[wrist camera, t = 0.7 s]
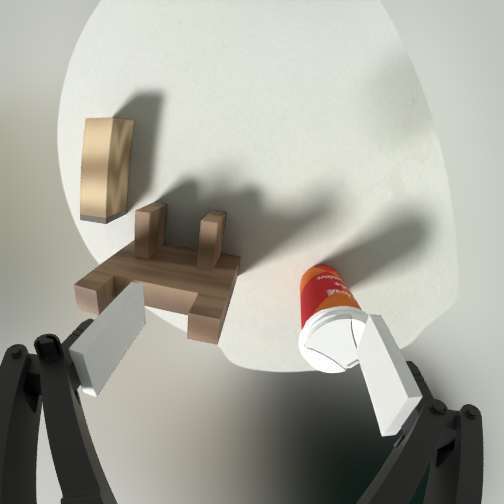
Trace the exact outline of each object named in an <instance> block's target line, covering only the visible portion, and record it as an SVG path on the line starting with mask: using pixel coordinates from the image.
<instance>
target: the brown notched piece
mask: <svg viewBox="0 0 504 504" xmlns="http://www.w3.org/2000/svg"><path fill="white" fill-rule="evenodd" d="M166 209H167V204H164V203H156V202H153V203H151V204H149V205H147V206H145V207H143V208H141V209H138V210H136V211H135V240H134V241H133V242H131V243H130V244H128V245H127V246H125V247H124V248H123V249H121V250H120V251H118V252H117V253H116V254H114V255H113V256H111V257H110V258H109V259H107V260H106V261H105V262H103V263H102V264H101V265H99V266H98V267H97V268H95V269H94V270H93V271H91V272H90V273H89V274H87V275H86V276H85V277H83V278H82V279H81V280H79V281H78V282H77V283H76V284H74V287H75V294H76V301H77V307H78V309H80V310H83V311H87V312H90V313H93V314H96V315H100V314H101V313H102V312H103V311H104V310H105V309H106V308H107V307H108V305H109V304H110V303H111V302H112V301H113V300H114V299H115V298H116V297H117V296H118V295H119V294H120V293H121V292H122V291H123V290H124V289H125V288H126V287H127V286H128V285H129V284H130V283H131V282H134V283H139V284H143V294H144V305H145V306H149V307H153V308H158V309H162V310H166V311H171V312H175V313H180V314H185V315H188V332H187V338H188V339H192V340H197V341H202V342H207V343H212V344H217V345H218V341H219V338H220V334H221V331H222V328H223V324H224V321H225V317H226V314H227V310H228V307H229V304H230V300H231V297H232V293H233V290H234V286H235V283H236V280H237V276H238V269H239V262H240V257H236V256H230V255H224V254H221V249H222V241H223V233H224V225H225V217H226V212H220V211H213V210H211V211H210V212H209V213H208V214H207V215H206V216H205V217H204V218H203V219H202V220H201V225H200V235H199V245H198V250H195V249H189V248H183V247H177V246H171V245H166V244H164V241H165V224H166Z"/></svg>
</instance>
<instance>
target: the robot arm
mask: <svg viewBox="0 0 504 504" xmlns="http://www.w3.org/2000/svg"><path fill="white" fill-rule="evenodd" d="M145 324H146V320H145V308H144V294H143V284H139V283H134V282H131V283H130V284H129V285H128V286H127V287H126V288H125V289H124V290H123V291H122V292H121V293H120V294H119V295H118V296H117V297H116V298H115V299H114V300H113V301H112V302H111V303H110V304H109V305H108V307H107V308H106V309H105V310H104V311H103V312H102V313H101V314H100V315H99V316H98V317H97V318H96V319H95V320H93V319H88V320H86V321H84V322H82V323H81V324H80V325H79V326H78V327H77V328H76V330H74V331H73V332H72V334H70V335H69V336H68V338H67V339H66V340H65V341H64V342H63V343H62V344H61V343H60V340H59V338H58V337H57V336H56V335H54V334H45V335H41V336H40V337H38V338H37V339H36V340H35V342H34V347H35V349H36V352H37V355H35V354H29V353H28V350H27V348H26V347H25V346H24V345H21V344H16V345H13V346H11V347H10V348H8V349H7V351H6V352H5V355H4V357H3V360H2V363H1V366H0V504H37V501H36V461H37V444H38V432H39V423H40V415H41V408H42V402H43V410H44V417H45V423H46V429H47V434H48V439H49V445H50V449H51V454H52V458H53V462H54V466H55V470H56V473H57V477H58V481H59V484H60V487H61V490H62V494H63V497H62V499H61V504H117V501H116V500H115V497H114V495H113V493H112V491H111V488H110V486H109V484H108V482H107V479H106V477H105V474H104V472H103V469H102V467H101V464H100V462H99V459H98V456H97V454H96V451H95V448H94V445H93V442H92V439H91V436H90V433H89V430H88V426H87V423H86V420H85V416H84V413H83V409H82V405H81V402H80V397H79V393H78V391H77V389H78V387H79V386H80V385H81V386H82V389H83V391H84V393H87V394H89V395H92V396H95V397H97V396H98V395H99V393H100V392H101V390H102V389H103V387H104V386H105V384H106V382H107V381H108V379H109V378H110V376H111V374H112V373H113V372H114V370H115V368H116V367H117V365H118V364H119V362H120V361H121V359H122V358H123V356H124V355H125V353H126V352H127V350H128V349H129V347H130V346H131V344H132V343H133V341H134V340H135V338H136V337H137V335H138V334H139V332H140V331H141V330H142V328H143V326H144V325H145ZM356 354H357V357H358V359H359V362H360V366H361V369H362V372H363V375H364V378H365V381H366V384H367V387H368V390H369V394H370V396H371V400H372V403H373V407H374V410H375V414H376V417H377V420H378V424H379V427H380V431H381V435H382V436H388V435H396V434H397V432H398V431H399V430H400V428H401V427H402V430H403V435H402V436H401V437H400V438H399V440H398V441H397V442H396V443H395V444H394V446H395V448H394V449H393V451H392V453H391V454H390V456H389V457H388V459H387V461H386V462H385V464H384V466H383V467H382V468H381V470H380V471H379V473H378V474H377V476H376V477H375V479H374V480H373V482H372V483H371V485H370V486H369V488H368V489H367V490H366V491H365V493H364V494H363V496H362V497H361V498H360V500H359V501H358V502H357V504H409V502H410V500H411V498H412V497H413V495H414V493H415V491H416V489H417V487H418V485H419V483H420V481H421V479H422V477H423V475H424V473H425V471H426V469H427V466H428V464H429V462H430V460H431V457H432V461H431V468H430V474H429V479H428V484H427V489H426V494H425V499H424V503H423V504H481V500H482V487H483V430H482V417H481V413H480V411H479V410H478V408H476V407H475V406H473V405H471V404H466V405H464V406H463V407H462V408H461V409H460V411H453V410H448V409H447V407H446V405H445V404H444V403H443V402H441V401H440V400H437V399H434V398H433V396H432V395H431V392H430V390H429V388H428V386H427V384H426V382H425V381H424V378H423V377H422V375H421V373H420V371H419V369H418V367H417V366H416V365H415V364H414V363H413V362H412V361H405V359H404V358H403V355H402V354H401V352H400V350H399V348H398V346H397V344H396V342H395V340H394V338H393V336H392V335H391V333H390V331H389V329H388V327H387V325H386V324H385V322H384V320H383V318H382V317H381V315H371V314H369V317H368V320H367V323H366V325H365V328H364V331H363V334H362V336H361V339H360V342H359V344H358V347H357V350H356Z"/></svg>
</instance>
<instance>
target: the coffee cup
mask: <svg viewBox="0 0 504 504" xmlns="http://www.w3.org/2000/svg"><path fill="white" fill-rule="evenodd" d="M300 297H301V327H302V331H301V334H300V337H299V348H300V352H301V354H302V355H303V357H304V358H305V359H306V360H307V361H308V362H309V364H310V365H312V366H313V367H314V368H316V369H317V370H320V371H323V372H328V373H337V372H343V371H345V369H347V368H351V367H353V366H354V365H356V364H358V363H359V359H358V357H357V354H356V350H357V347H358V344H359V342H360V339H361V336H362V334H363V331H364V328H365V325H366V323H367V320H368V317H369V316H368V315H367V314H366V313H365V312H364V311H362V309H361V308H360V306H359V305H358V303H357V301H356V300H355V298H354V297H353V295H352V293H351V292H350V290H349V289H348V287H347V286H346V284H345V283H344V281H343V280H342V278H341V277H340V275H339V274H338V273H337V272H336V271H335V270H334V269H333V268H331V267H329V266H325V265H318V266H315V267H312V268H310V269H309V270H308V271H307V272H306V273H305V274H304V275H303V277H302V280H301V285H300Z"/></svg>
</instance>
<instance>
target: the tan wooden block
mask: <svg viewBox="0 0 504 504" xmlns="http://www.w3.org/2000/svg"><path fill="white" fill-rule="evenodd" d="M133 127H134V121H133V120H127V119H120V118H114V117H111V118H87V119H86V121H85V129H84V139H83V149H82V163H81V184H80V220H84V221H90V222H97V223H103V224H107V223H109V222H111V221H113V220H115V219H117V218H119V217H121V216H123V215H125V214H127V191H128V176H129V164H130V153H131V144H132V135H133Z"/></svg>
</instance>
